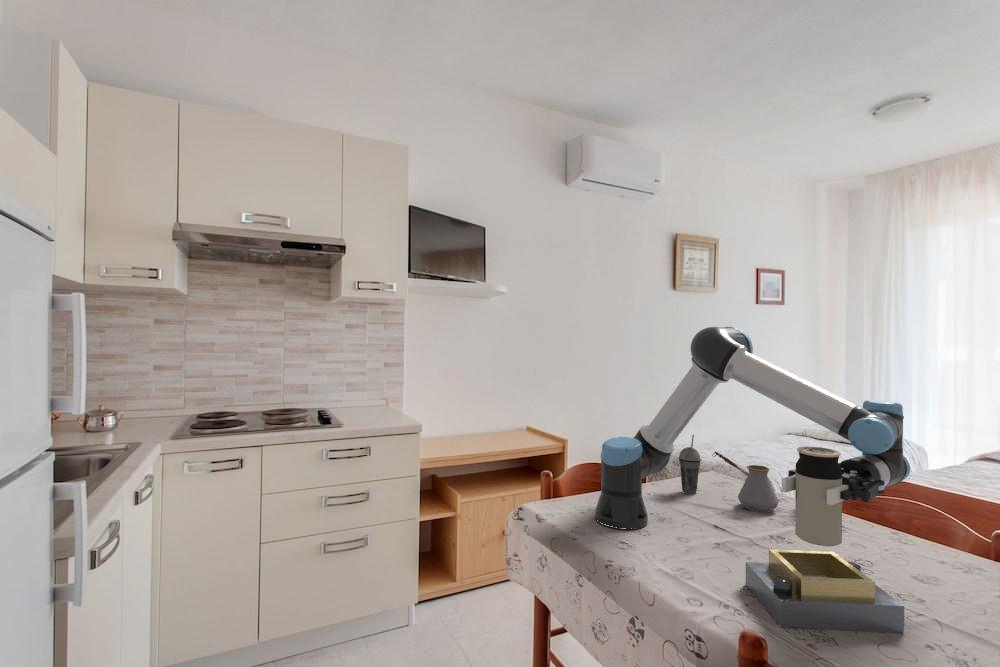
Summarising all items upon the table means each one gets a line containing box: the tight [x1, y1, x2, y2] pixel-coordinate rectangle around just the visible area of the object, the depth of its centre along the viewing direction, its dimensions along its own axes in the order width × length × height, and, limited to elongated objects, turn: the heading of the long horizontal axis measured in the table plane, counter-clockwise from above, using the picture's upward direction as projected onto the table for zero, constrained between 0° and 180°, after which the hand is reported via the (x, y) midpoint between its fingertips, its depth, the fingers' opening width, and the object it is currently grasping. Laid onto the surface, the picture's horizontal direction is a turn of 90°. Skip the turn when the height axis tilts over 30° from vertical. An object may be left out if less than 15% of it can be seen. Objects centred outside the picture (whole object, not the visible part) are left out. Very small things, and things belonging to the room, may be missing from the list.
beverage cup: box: [678, 434, 702, 495], centre depth 174 cm, size 7×7×20 cm
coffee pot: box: [712, 451, 779, 513], centre depth 163 cm, size 21×12×15 cm, turn 33°
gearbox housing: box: [745, 548, 905, 633], centre depth 102 cm, size 22×16×8 cm
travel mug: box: [794, 446, 843, 547], centre depth 102 cm, size 8×8×18 cm
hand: (805, 491), depth 99 cm, fingers closed on travel mug, 8 cm apart
